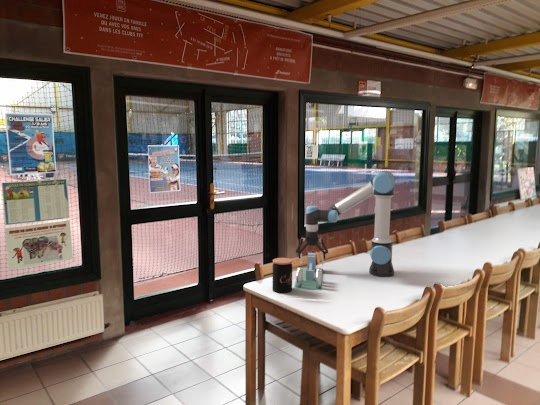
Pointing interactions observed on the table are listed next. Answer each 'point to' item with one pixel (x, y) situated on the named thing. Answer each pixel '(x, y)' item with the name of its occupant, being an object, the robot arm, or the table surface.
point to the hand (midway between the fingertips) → (312, 263)
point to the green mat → (309, 282)
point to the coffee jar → (282, 275)
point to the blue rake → (311, 266)
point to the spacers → (300, 277)
